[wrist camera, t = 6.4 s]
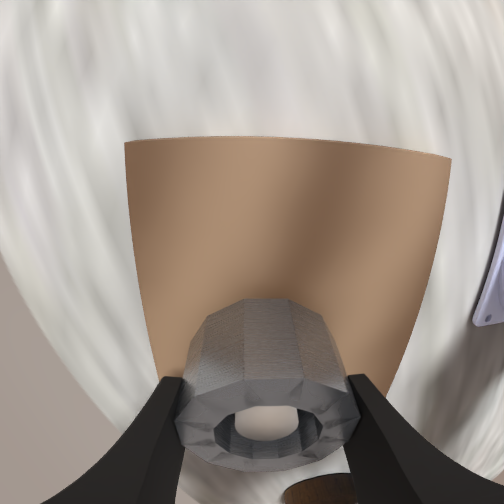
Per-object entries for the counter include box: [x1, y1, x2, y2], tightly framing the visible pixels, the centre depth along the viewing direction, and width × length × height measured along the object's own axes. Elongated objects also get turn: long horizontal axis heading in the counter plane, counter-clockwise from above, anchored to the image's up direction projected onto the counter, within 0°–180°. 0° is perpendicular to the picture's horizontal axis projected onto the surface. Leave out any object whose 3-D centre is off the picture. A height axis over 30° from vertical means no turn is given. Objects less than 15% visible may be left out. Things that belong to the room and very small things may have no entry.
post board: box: [124, 136, 452, 441], centre depth 10 cm, size 11×14×5 cm
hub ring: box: [174, 299, 361, 472], centre depth 10 cm, size 5×5×4 cm
